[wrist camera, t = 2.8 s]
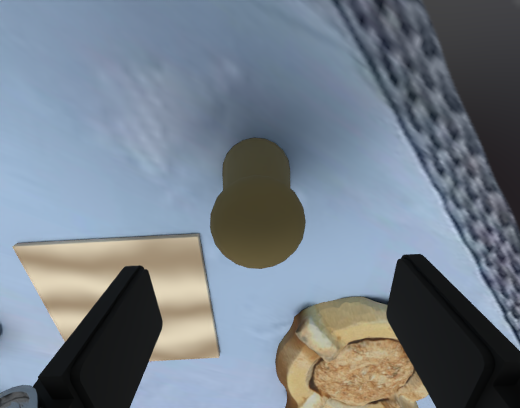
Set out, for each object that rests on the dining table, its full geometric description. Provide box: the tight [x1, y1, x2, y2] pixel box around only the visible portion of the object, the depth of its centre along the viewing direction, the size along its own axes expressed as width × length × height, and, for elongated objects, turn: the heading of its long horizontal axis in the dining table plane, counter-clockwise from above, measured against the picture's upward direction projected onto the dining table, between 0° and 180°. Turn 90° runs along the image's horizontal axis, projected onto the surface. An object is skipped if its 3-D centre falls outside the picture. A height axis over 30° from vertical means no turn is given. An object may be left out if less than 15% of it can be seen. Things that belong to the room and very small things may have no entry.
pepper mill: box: [210, 138, 306, 269], centre depth 17 cm, size 6×6×11 cm
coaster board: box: [12, 234, 220, 361], centre depth 28 cm, size 18×18×1 cm
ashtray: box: [275, 297, 429, 408], centre depth 31 cm, size 24×24×5 cm
